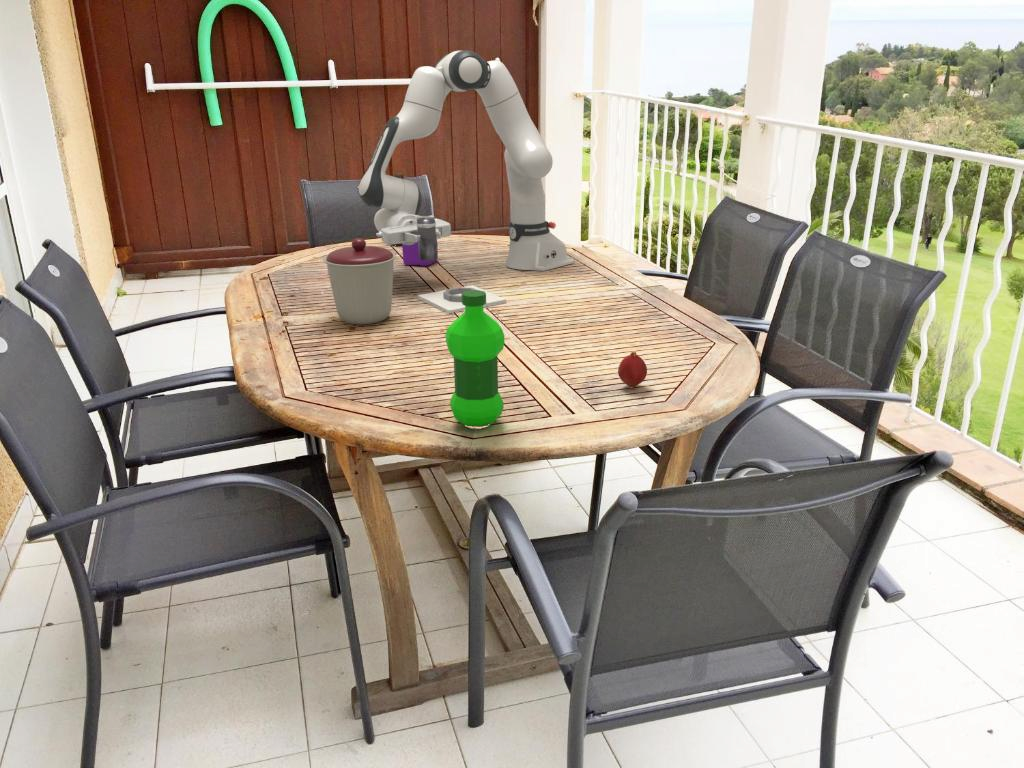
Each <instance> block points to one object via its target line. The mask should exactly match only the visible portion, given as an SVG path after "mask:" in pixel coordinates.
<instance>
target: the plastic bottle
mask: <svg viewBox="0 0 1024 768" xmlns="http://www.w3.org/2000/svg"><path fill="white" fill-rule="evenodd" d="M462 304H463V305H465V311H463V313H461V315H460V316H459V317H457V318H456V319H455V320H454V321H453V322H451V324H450V325H448V327H447V328H446V332H445V342H446V347H447V349H448V352H449V354H450V355H451V356H452V357H453V373H454V375H453V377H454V391H453V393H452V396H451V397H450V402H449V403H450V409H451V412H452V414H453V417H454V419H455V420H456V421H457V422H458V423H460V424H461V423H462V424H464V425H467V426H484V425H488V424H491V425H492V424H493V423H494V422H495V421H497V419H499V417H501V415H502V413H503V411H504V401H503V399H502V395H501V394H500V392H499V372H498V371H499V367H498V365H499V363H498V360H499V359H498V357H499V356H498V355H499V354H500V353H502V351H503V350H504V346H505V333H504V331H503V329H502V326H501V325H500V323H498V322H497V321H496V320H495V319H494V318H493V317H492V316H490V315H489V314H488V313H487V312H485V311H484V307H483V305H485V304H486V293H485V292H484V291H480V290H469V291H464V292H463V293H462ZM462 424H461V425H462ZM464 425H463V426H464Z"/></svg>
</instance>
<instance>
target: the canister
mask: <svg viewBox="0 0 1024 768" xmlns="http://www.w3.org/2000/svg"><path fill="white" fill-rule="evenodd" d="M396 259H397V254H395V252H393V251H391V250H389V249H388V248H385V247H382V246H381V247H380V246H375V245H372V246H371V245H367V243H366V241H365V239H363V238H360V237H359V238H355V239H353V240H352V241H351V246H347V247H342V248H338V249H335V250H333V251H331V252H329V253H328V254H327V255H325V256H324V257H323V262H324V263H325V264H326V267H327V272H328V276H329V282H330V287H331V290H332V291H331V293H332V296H333V300H334V304H335V308H336V312H337V315H338V316H339V318H340V319H341V320H342V321H343V322H345V323H347V324H351V325H352V324H353V325H371V324H376V323H379V322H383V321H384V320H386V319H387V318H388V317H389V316H390V314H391V311H392V300H393V287H394V286H393V285H394V283H393V282H394V281H393V280H394V261H395V260H396Z"/></svg>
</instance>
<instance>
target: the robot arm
mask: <svg viewBox="0 0 1024 768" xmlns="http://www.w3.org/2000/svg"><path fill="white" fill-rule="evenodd" d="M408 84H409V85H408V87H407V90H406V93H405V96H404V97H405V98H404V100H403V105H402V107H401V109H400V111H399V112H398V113H397V115H395V116H393V117H390V119H388V121H387V122H386V124H385V126H384V128H383V130H382V132H381V135H380V138H379V140H378V141H377V143H376V147H375V149H374V152H373V153H372V157H371V159H370V161H369V164H368V165H367V169H366V170H365V171H364V173H363V175H362V177H361V180H360V181H359V184H358V195H359V198H360V199H361V201H362V202H363V203H364V205H365V206H366V207H370V208H371V207H372V208H378V209H379V208H380V209H379V210H378V211H376V212H375V214H374V218H373V223H374V225H375V226H374V227H375V229H376V230H377V231H378V232H376V233H375V235H376V237H378V238H381V241H382V242H383V243H384V244H386V245H389V246H392V245H394V244H400V243H401V244H404V245H412V244H415V243H416V242H420V241H421V239H420V235H418V229H417V219H418V218H422V217H432V218H435V222H436V226H435V227H436V239H437V240H439V239H441V238H446V237H451V235H452V227H451V223H449V222H448V221H445V220H443V219H440V218H436V217H435V215H432V214H431V215H430V214H419V213H420V209H421V206H422V201H423V200H422V199H423V197H422V192H421V189H420V187H419V185H418V183H416V182H415V181H412V180H408V179H405V178H404V179H402V178H397V177H395V176H392V175H388V174H386V171H387V169H388V165H389V163H390V161H391V158H392V156H393V154H394V151H395V150H396V147H397V146H398V145H400V143H403V142H405V141H411V140H417V139H419V140H420V139H423V138H426V137H428V136H430V135H431V134H433V133H434V132H435V131H436V129H437V128H438V126H439V123H440V120H441V116H442V111H443V106H444V102H445V100H446V98H447V96H448V94H449V93H451V92H453V93H454V92H456V93H462V92H464V93H465V92H467V91H468V92H469V91H474V90H475V91H476V92H477V93H478V95H479V97H480V98H481V101H482V103H483V105H484V107H485V111H486V112H487V114H488V118H489V119H490V121H491V124H492V126H493V128H494V130H495V133H496V134H497V135H498V137H499V139H500V140H501V142H502V143H503V145H504V147H505V150H504V154H503V155H504V161H505V169H506V177H507V182H508V183H507V184H508V190H509V199H510V200H509V201H510V202H509V203H510V207H509V208H510V209H509V210H510V211H509V212H510V213H509V214H510V220H509V222H508V226H509V227H508V234H509V235H508V236H509V248H508V255H507V260H506V263H505V266H506V267H508V268H510V269H513V270H514V269H515V270H523V271H540V272H541V271H542V272H545V271H549V270H552V269H557V268H560V267H563V266H568V265H571V264H575V260H574V259H573V257H571V256H568V252H567V247H566V244H565V242H564V241H562V240H561V239H560V238H558V237H557V236H555V235H554V234H553V233H552V232H550V231H551V230H550V229H552V230H555V229H556V227H557V224H556V223H555V222H554V221H547V220H546V194H545V191H544V187H543V181H542V178H545V177H546V176H548V174H549V173H550V172H551V171H552V169H553V162H554V160H553V155H552V154H551V152H550V151H549V149H548V147H547V145H546V143H545V141H544V140H543V137H542V136H541V134H540V132H539V130H538V128H537V127H536V125H535V123H534V122H533V120H532V119H531V116H530V114H529V112H528V109H527V108H526V105H525V103H524V100H523V98H522V96H521V93H520V91H519V88H518V86H517V83H516V82H515V79H514V78H513V77H512V75H511V73H510V71H509V69H508V68H507V67H506V65H505V64H504V63H503V62H501V61H499V60H489V61H487V60H485V59H484V58H482V57H481V56H480V55H479V54H478V53H476V52H474V51H472V50H467V49H465V50H455V51H452V52H450V53H447V54H445V55H443V56H442V57H441V58H440V59H439V60H438V61H437V62H436V63H435V65H434V66H428V65H426V66H419V67H417V68H416V69H415V71H414V72H413V74H412V77H411V79H410V82H409V83H408Z"/></svg>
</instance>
